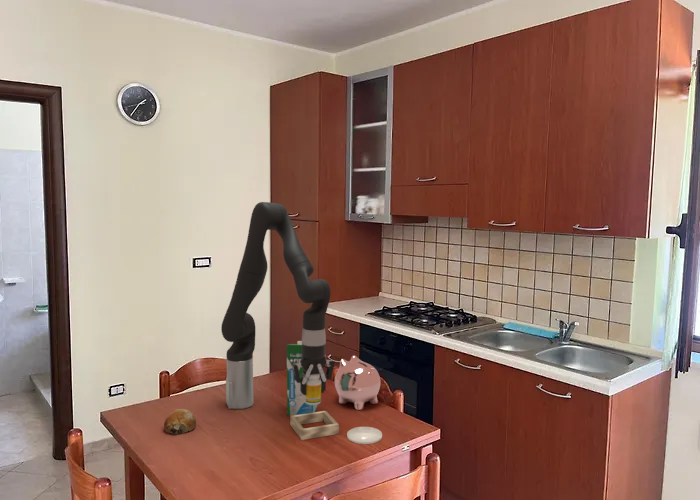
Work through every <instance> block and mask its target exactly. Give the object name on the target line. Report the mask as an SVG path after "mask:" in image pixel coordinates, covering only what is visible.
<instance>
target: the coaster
mask: <svg viewBox="0 0 700 500" xmlns="http://www.w3.org/2000/svg"><path fill="white" fill-rule="evenodd" d="M346 433H347V434H346V438H347V439H348V440H349V441H350V442H353V443H355V444H359V445H371V444H376V443H378V442H380V441H381V440H382V439H383V433H382V431H381V430H380V429H378V428H376V427H371V426H357V427H353V428H351V429H350V430H348V431H347V432H346Z"/></svg>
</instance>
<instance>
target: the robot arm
mask: <svg viewBox="0 0 700 500" xmlns="http://www.w3.org/2000/svg"><path fill="white" fill-rule="evenodd" d="M249 222H250V223H249V226H248V227H249V228H248V232H247V233H248V234H247V240H246V244H245V248H244V251H243V252H244V253H243V256H242V259H241V263H240V266H239V269H238V273H237V276H236V277H237V278H236V281H235V284H234V289H233V291H232V294H231V299H230V301H229V304H228V306H227V307H228V308H227V309H226V312H225V314H224V317H223V319H222V323H221V335H222V337H223V338H224V340H225V341H227V342H229V343H232V344H231V345H230V346H229V348H228V349H227V351H226V378H225V399H226V400H225V401H226V406H227V407H228V409H229V410H231V409H232V410H233V409H235V410H243V409H247V408H250V407H252V406H253V405H254V364H253V362H254V360H253V358H254V356H253V355H254V354H253V353H254V352H255V348H256V322H255V319H254V318H253V316H252V314H250V313H248V310H249V308H250V306H251V304H252V302H253V301H254V299H255V298H256V297H257V295H258V294H259V292H260V291H261V289H262V287H263V285H264V282H265V279H266V276H267V272H268V261H267V257H266V253H265V248H264V243H265V238H266V234H267V231H276V233H277V234H278V235H279V236H280V238H281V241H282V249H283V250H282V253H283V260H284V262H285V264H286V267H287V268H288V270H289V271H290V273H291V275H292V277H293V281H294V284H295V289H296V293H297V296H298V298H299V299H300V300H301V301H302V302H303V303H305V304H311V306H310V307H309V308H307V309H306V310H304V311H303V314H302V333H301V341H302V359H301V361H300V362H299V363H296V364H295V363H293V364H292V368H293V374H294V379H295V381H296V382H297V383H300V391H301V393H302V394H303V395H306V381H307V378H308V377H309V375H310V374H313V373H320V377H319V379H320V380H321V382H322V384H321V394H325V393H324V392H325V391H326V390H327V389H326V388H327V387H326V386H327V385H326V383H327V381H328V380H331V379H333V378H332V377H333V372H334V369H335V361H334V360H333V359H331V358H329V359H327V358H326V341H327V337H326V314H327V310H328V307H329V304H330V299H331V296H332V295H331V293H332V291H331V286H330V284H329V281H327V280H326V279H323V278H316V279H310V278H309V277H311V276H312V274H313V273H314V267H313V264H312V263H311V261H310V259H309V258H308V256H307V254H306V253H305V251H304V249H303V247H302V245H301V243H300V241H299V239H298V235H297V233H296V230H295V228H294V225H293V223H292V220H291V217H290V215H289V212H288V210H287V208H286V207H285V206H284V205H283V204H281V203H277V202H270V201H260V202H258V203H257V204H256V205H254V208H253V210H252V213H251V216H250V221H249ZM300 366H302V367H303V368H304V369H303V372H302V376H301V378H300V376H299V371H298V370H300ZM325 366H326V371H324V369H323V368H324V367H325ZM325 372H326V373H325Z"/></svg>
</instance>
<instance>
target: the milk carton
mask: <svg viewBox="0 0 700 500" xmlns="http://www.w3.org/2000/svg"><path fill="white" fill-rule="evenodd" d="M301 359H302V340H298V341H297V343H289V344H286V405H287V406H286V416H294V415H300V414H307V413H313V412H316V410H317V408H318V404H317V405H309V404H306V403H305V395H303V394H302V393H301V391H300V383H297V382H296V381H295V379H294V374H293V368H292V364H293V363H295V364H296V363H299V362H300V361H301ZM303 369H304V368H303V367H302V366H300V370H298V371H299V376H300V378H301V376H302V372H303Z"/></svg>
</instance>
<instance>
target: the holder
mask: <svg viewBox="0 0 700 500" xmlns="http://www.w3.org/2000/svg"><path fill="white" fill-rule="evenodd" d="M289 417H290V418H289V419H290V423H289V424H290V426H291V428H292V429H293V430H294V432H295V433H296V434H297V436H298V438H300V440H301V441H304V440H309V439H311V440H312V439H315V438H316V439H317V438H321V437H327V436H333V435H339V434H340V423H338V422H337V421H336V420H335V419H334V418H333V416H331V414H330V413H329V412H328V411H327V410H322V411H315V412H313V413H307V414H300V415H294V416H291V415H289ZM319 422H320V423H321V422H324V423H325V424H324V425H319V426H318V425H317V426H313V427H307V428H304V427H303V425H307V424H313V423H319Z"/></svg>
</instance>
